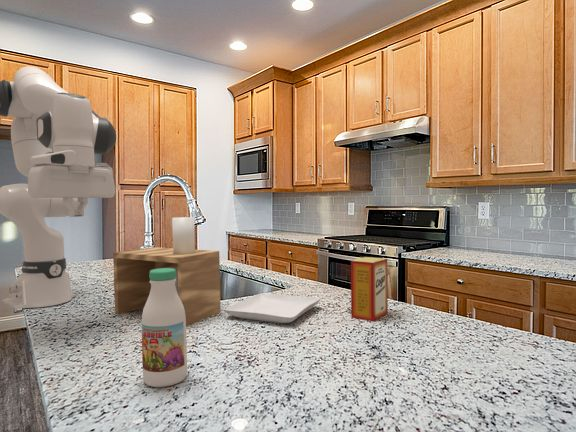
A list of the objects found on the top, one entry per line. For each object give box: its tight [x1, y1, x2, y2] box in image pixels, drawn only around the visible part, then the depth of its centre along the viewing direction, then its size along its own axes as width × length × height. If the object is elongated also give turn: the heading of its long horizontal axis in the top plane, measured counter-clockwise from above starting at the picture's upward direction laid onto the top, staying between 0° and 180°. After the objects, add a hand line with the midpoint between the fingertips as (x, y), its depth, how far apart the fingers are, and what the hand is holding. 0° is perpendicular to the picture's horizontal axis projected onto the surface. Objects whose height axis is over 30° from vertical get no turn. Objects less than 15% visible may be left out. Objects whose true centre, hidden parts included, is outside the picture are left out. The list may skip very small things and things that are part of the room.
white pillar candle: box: [171, 216, 196, 254], centre depth 109 cm, size 6×6×10 cm
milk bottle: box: [141, 268, 188, 388], centre depth 71 cm, size 8×8×20 cm
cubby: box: [112, 246, 222, 327], centre depth 113 cm, size 27×15×18 cm, turn 61°
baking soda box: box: [350, 256, 389, 323], centre depth 108 cm, size 10×6×16 cm
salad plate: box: [224, 292, 322, 324], centre depth 112 cm, size 21×21×3 cm
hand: (76, 216), depth 96 cm, fingers closed
